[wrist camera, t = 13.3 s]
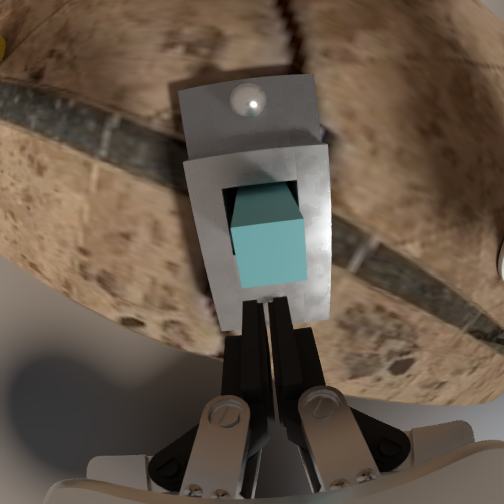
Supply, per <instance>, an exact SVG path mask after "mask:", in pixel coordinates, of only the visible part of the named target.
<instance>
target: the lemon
mask: <svg viewBox="0 0 504 504" xmlns="http://www.w3.org/2000/svg"><path fill="white" fill-rule="evenodd" d="M5 49H6V43H5V40H4V38H3V37H2V36H1V35H0V61H1V60H2V58H3V56H4V55H5Z"/></svg>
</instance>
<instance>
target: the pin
mask: <svg viewBox="0 0 504 504" xmlns="http://www.w3.org/2000/svg"><path fill="white" fill-rule="evenodd" d="M231 233H232V238H233V244H234V249H235V254H236V260H237V265H238V270H239V275H240V280H241V286H242V288H249V287H258V286H266V285H274V284H282V283H290V282H298V281H305V280H307V262H306V243H305V227H304V218H303V216H302V214H301V212H300V210H299V208H298V206H297V204H296V202H295V200H294V198H293V196H292V194H291V192H290V190H289V188H288V187H287V185H286V183H285V181H280V182H271V183H262V184H254V185H246V186H238V190H237V195H236V201H235V206H234V212H233V217H232V223H231Z"/></svg>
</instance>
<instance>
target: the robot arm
mask: <svg viewBox="0 0 504 504" xmlns="http://www.w3.org/2000/svg"><path fill="white" fill-rule="evenodd" d="M498 272H499V276H500V278H501V279H502V280H503V281H504V241H503V244H502V247H501V251H500V255H499V261H498ZM268 313H269V323H270V334H271V344H272V355H273V366H274V377H275V387H276V396H277V404H278V412H279V420H280V427H286V428H287V436H288V439H289V440H290V441H292V442H294V443H295V444H297V445H298V448H299V451H300V454H301V457H302V461H303V464H304V467H305V471H306V474H307V477H308V480H309V483H310V487H311V489H312V494H305V495H298V496H289V497H279V498H265V499H254V495H255V488H256V482H257V476H258V470H259V462H260V456H261V448H262V447H263V446H264V445H265V444H266V443H268V441H269V436H270V428H275V427H276V426H275V412H274V400H273V387H272V374H271V362H270V351H269V343H268V336H267V328H266V321H265V314H264V306H263V303H258V302H257V300H248V301H243V303H242V335H239V336H227V337H226V339H225V350H224V363H223V376H222V390H221V396H220V397H217V398H215V399H213V400H211V401H210V402H209V403H208V404H207V405H206V407H205V409H204V411H203V414H202V418H201V421H200V423H199V424H198V425H196V426H195V427H194V428H192V429H191V430H189V431H188V432H187V433H185V434H184V435H183V436H181V437H180V438H178V439H177V440H176V441H174V442H173V443H171V444H170V445H169V446H167V447H166V448H164V449H163V450H161V451H160V452H158V453H157V454H155V456H148V457H147V456H146V455H133V456H98V457H95V458H93V459H92V460H91V461H90V462H89V464H88V468H87V479H68V480H63V481H60V482H57V483H55V484H54V485H53V486H52V487H51V488H50V489H49V490H48V492H47V494H46V496H45V499H44V501H43V504H504V441H501V440H485V441H480V442H475V439H474V434H473V430H472V427H471V426H470V425H469V424H468V423H467V422H465V421H462V420H459V421H458V420H457V421H452V422H448V423H443V424H438V425H432V426H426V427H419V428H412V429H411V431H403V432H402V431H401V430H399V429H397V428H394V427H392V426H390V425H388V424H385V423H383V422H381V421H379V420H376V419H374V418H372V417H370V416H368V415H366V414H364V413H361V412H359V411H357V410H355V409H353V408H351V407H349V405H348V403H347V401H346V399H345V397H344V395H343V394H342V393H341V392H340V391H339V390H338V389H336V388H334V387H331V386H326V384H325V380H324V376H323V372H322V367H321V363H320V359H319V355H318V351H317V347H316V344H315V340H314V336H313V332H312V329H311V327H308V328H301V329H293V325H292V319H291V314H290V309H289V304H288V299H287V296H282V297H274V298H273V301H272V302H268Z"/></svg>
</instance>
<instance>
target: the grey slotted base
mask: <svg viewBox="0 0 504 504" xmlns="http://www.w3.org/2000/svg"><path fill="white" fill-rule="evenodd" d="M178 97H179V103H180V110H181V116H182V122H183V128H184V134H185V140H186V146H187V152H188V157H189V158H188V159H186V160H185V161H183V166H184V171H185V176H186V181H187V186H188V191H189V196H190V201H191V206H192V211H193V215H194V220H195V224H196V229H197V233H198V238H199V242H200V247H201V251H202V255H203V259H204V264H205V268H206V272H207V276H208V280H209V284H210V288H211V292H212V296H213V300H214V304H215V307H216V311H217V315H218V319H219V323H220V326H221V330H222V331H229V330H242V303H243V301H248V300H257V302H258V303H263V306H264V314H265V321H266V327H270V323H269V313H268V302H272V301H273V298H274V297H282V296H287V299H288V304H289V309H290V314H291V319H292V324H298V323H306V322H313V321H320V320H327V319H329V311H330V288H331V196H330V173H329V156H328V144H325V143H322V142H321V135H320V125H319V115H318V106H317V97H316V89H315V81H314V74H298V75H279V76H267V77H257V78H248V79H240V80H233V81H226V82H220V83H214V84H209V85H203V86H198V87H193V88H189V89H184V90H180V91H178ZM290 180H291V187H292V196H293V198H294V200H295V202H296V204H297V206H298V208H299V210H300V212H301V214H302V216H303V218H304V227H305V243H306V262H307V280H305V281H298V282H290V283H282V284H274V285H266V286H258V287H249V288H242V286H241V280H240V275H239V270H238V265H237V260H236V254H235V249H234V244H233V238H232V233H231V223H232V211H231V205H230V199H229V192H228V188H231V187H238V186H246V185H254V184H262V183H271V182H280V181H290Z"/></svg>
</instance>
